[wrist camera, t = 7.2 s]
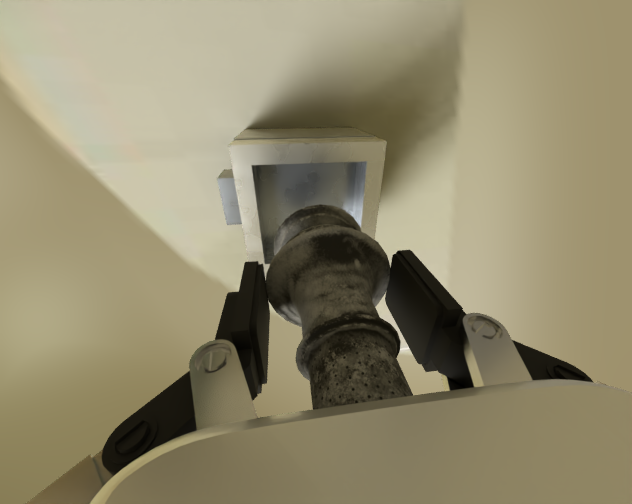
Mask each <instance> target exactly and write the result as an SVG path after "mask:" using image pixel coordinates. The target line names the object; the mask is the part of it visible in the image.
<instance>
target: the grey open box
mask: <svg viewBox="0 0 632 504" xmlns="http://www.w3.org/2000/svg"><path fill="white" fill-rule="evenodd" d="M386 146H387V141H385V140H382V139H380V138H377V137H375V136H374V135H372V134H369V133H366V132H363V131H361V130H358V129H355V128H352V127H335V128H280V129H245V130H244V131H242V132H241V133H240V134H239V135H238V136H237V137H235V138H234V141H232V142H231V143H230V144H229V145H228V147H229V152H230V158H231V164H232V169H229V170H224V171H223V172H222V173H221V174H220V176H219V177H218V178H217V180H218V185H219V190H220V195H221V199H222V204H223V209H224V214H225V219H226V223H227V225H233V224H242V227H243V233H244V239H245V245H246V250H247V256H248V262H252V261H258V263H259V264H263V266H264V273H265V277H266V273H267V271H268V269H269V266H270V264H271V261H272V259H273V258H274V257H275V255H274V251H273V249H274V238H275V236H276V233H277V231H278V228H279V227H280V226H281V224H282V223H283V222H284V220H285V219H286V218H288V217H289V216H290V215H291V214H293V213H294V212H295V211H298V210H300V209H302V208H305V207H307V206H313V205H319V204H322V205H332V206H335V207H338V208H340V209H343V210H345V211H346V212H347V213H349V214H350V215H351V216H353V217H354V219H355V220H356V222H357V223H358V224H359V226H360V228H361V231H362V232H363V233H366V234H367V235H368V236H370V237H371V238H372V239H375V231H376V223H377V215H378V208H379V200H380V192H381V185H382V177H383V169H384V162H385V154H386Z"/></svg>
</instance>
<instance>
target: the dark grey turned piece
mask: <svg viewBox="0 0 632 504" xmlns="http://www.w3.org/2000/svg"><path fill="white" fill-rule="evenodd" d="M273 251H274V255H275V257H274V258H273V259H272V261H271V264H270V266H269V269H268V271H267V273H266V290H267V296H268V300H269V302H270V304H271V305H272V307H273V308H274V310H275V311H276V312H277V313H278V314H279V315H280V316H282V317H283V318H284V319H285V320H287V321H289V322H291V323H293V324H295V325H298V326H300V327H302V334H303V339H302V341H301V343H300V344H299V346H298V348H297V353H296V363H297V367H298V370H299V371H300V372H301V374H302V375H303V376H304V377H305V378H306V379H308V380H309V381H310V385H311V395H312V404H313V410H314V409H321V408H328V407H335V406H342V405H349V404H356V403H363V402H371V401H378V400H385V399H392V398H399V397H407V396H413V394H412V392H411V389H410V387H409V385H408V383H407V381H406V379H405V377H404V374H403V372H402V370H401V368H400V366H399V363H398V361H397V359H396V358H397V356H398V354H399V351H400V339H399V336H398V333H397V331H396V330H395V329H394V328H393V326H392V325H391V324H390V323H388V322H386V321H385V320H383V319H381V318H380V317H379V315H378V313H377V310H376V308H375V306H377V304H378V303H379V301H380V300H381V299H382V297H383V296H384V294H385V292H386V290H387V287H388V284H389V279H390V265H389V261H388V258H387V255H386V253H385V252H384V250H383V249H382V248H381V246H380V245H379V243H378V242H377V241H375V240H374V239H372V238H371V237H370V236H368V235H367V234H366V233H363V232H362V231H361V228H360V226H359V224H358V223H357V222H356V220H355V219H354V217H353V216H351V215H350V214H349V213H347V212H346V211H345V210H343V209H340V208H338V207H335V206H332V205H322V204H319V205H313V206H307V207H305V208H302V209H300V210H298V211H295V212H294V213H293V214H291V215H290V216H289V217H288V218H286V219H285V220H284V222H283V223H282V224H281V226H280V227H279V228H278V231H277V233H276V236H275V238H274V249H273Z"/></svg>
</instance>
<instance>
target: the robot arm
mask: <svg viewBox="0 0 632 504" xmlns="http://www.w3.org/2000/svg"><path fill="white" fill-rule="evenodd" d="M385 301H386V305H387V307H388V309H389V310H390V312H391V314H392V316H393V318H394V320H395V322H396V324H397V325H398V327H399V329H400V331H401V333H402V335H403V337H404V339H405V340H406V342H407V344H408V346H409V348H410V350H411V352H412V354H413V355H414V357H415V359H416V361H417V363H418V364H422V366H423V368H424V370H425V371H426V372H429V371H437V370H438V372H439V373H441V377H442V382H443V388H444V392H436V393H429V394H421V395H414V396H407V397H399V398H392V399H385V400H378V401H371V402H363V403H356V404H349V405H342V406H335V407H328V408H321V409H314V410H307V411H301V412H295V413H287V414H280V415H274V416H267V417H261V418H258V417H257V414H256V411H255V408H254V404H253V400H254V399H255V398H256V397H257V394H259V393H261V390H262V389H261V388H262V384H265V383H267V369H268V368H267V367H268V345H269V344H268V343H269V320H270V311H269V303H268V296H267V290H266V281H265V273H264V266H263V264H259V263H258V261H252V262H245V265H244V270H243V274H242V279H241V284H240V289H239V292H229V293H228V294H227V296H226V300H225V304H224V308H223V312H222V315H221V319H220V323H219V326H218V330H217V334H216V338H215V340H213V341H210V342H208V343H206V344H204V345H202V346H201V347H200V348H198V349H197V350H196V351H195V353H194V354H193V355H192V357H191V359H190V365H189V368H190V371H189V372H188V373H186V374H185V375H183V376H182V377H181V378H180V379H178V380H177V381H176V382H174V383H173V384H172V385H171V386H169V387H168V388H167V389H165V390H164V391H163V392H161V393H160V394H159V395H157V396H156V397H155V398H153V399H152V400H151V401H150V402H148V403H147V404H146V405H145V406H143V407H142V408H141V409H139V410H138V411H137V412H135V413H134V414H133V415H131V416H130V417H129V418H127V419H126V420H125V421H124V422H122V423H121V424H120V425H119V426H118V427H117V428H116V429H115V430H114V431H113V433H112V434H111V435H110V437H109V438H108V440H107V442H106V444H105V446H104V448H103V450H101V451H100V452H99V453H97V454H96V455H95V456H94V457H93V456H92V455H91V454H90V455H88V456H87V457H86V458H84V459H83V460H82V461H80V462H79V463H78V464H77V465H75V466H74V467H73V468H71V469H70V470H69V471H67V472H66V473H65V474H63V475H62V476H61V477H59V478H58V479H57V480H56V481H54V482H53V483H52V484H50V485H49V486H48V487H46V488H45V489H44V490H42V491H41V492H40V493H38V494H37V495H36V496H35V497H33V498H32V499H31V500H30V501H28V502H27V503H25V504H632V392H629V391H626V390H622V389H619V388H616V387H612V386H608V385H606V384H603V383H601V382H598V381H597V382H596V383H594V382H593V381H592V380H591V378H589V377H588V376H587V375H586V374H585V373H584V372H582V371H581V370H579V369H578V368H576V367H574V366H573V365H571V364H569V363H567V362H564V361H561V360H559V359H557V358H554V357H552V356H550V355H547V354H545V353H542V352H540V351H538V350H535V349H533V348H530V347H528V346H525V345H523V344H521V343H518V342H516V341H513V340H512V339H511V337H510V335H509V334H508V332H507V330H506V329H505V327H504V326H503V325H502V324H501V323H500V322H498V321H497V320H495V319H493V318H492V317H489V316H487V315H484V314H480V313H470V314H466V313H465V312H464V311H463V310H462V309H463V308H462V307H461V306H460V305H459V304H458V303H457V302H456V300H455V299H454V298H453V297H452V296H451V295H450V294H449V292H448V291H447V290H446V289H445V288H444V287H443V286H442V285H441V284H440V282H439V281H438V280H437V279H436V278H435V277H434V276H433V275H432V273H431V272H430V271H429V270H428V269H427V268H426V267H425V266H424V265H423V263H422V262H421V261H420V260H419V259H418V258H417V257H416V256H415V254H414V253H413V252H412V251H411V250H402V251H397V253H396V254H394V255H393V257H392V263H391V268H390V279H389V284H388V287H387V291H386V297H385Z"/></svg>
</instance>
